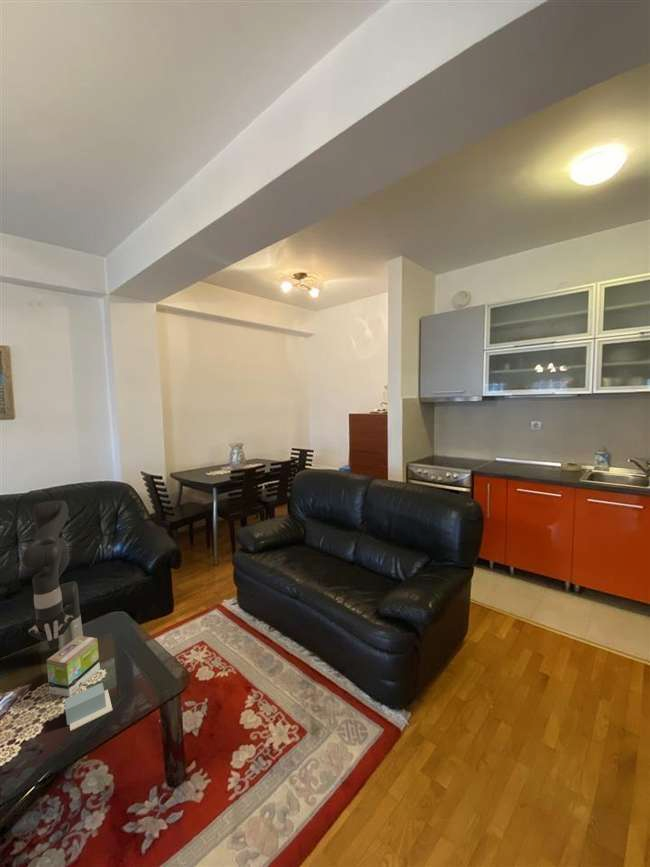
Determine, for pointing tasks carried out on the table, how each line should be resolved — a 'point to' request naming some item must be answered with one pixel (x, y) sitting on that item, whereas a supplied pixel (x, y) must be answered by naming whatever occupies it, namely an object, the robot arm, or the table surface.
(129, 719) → the table surface
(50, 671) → the tea box
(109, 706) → the felt mat
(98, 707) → the pale blue-gray rectangular block
